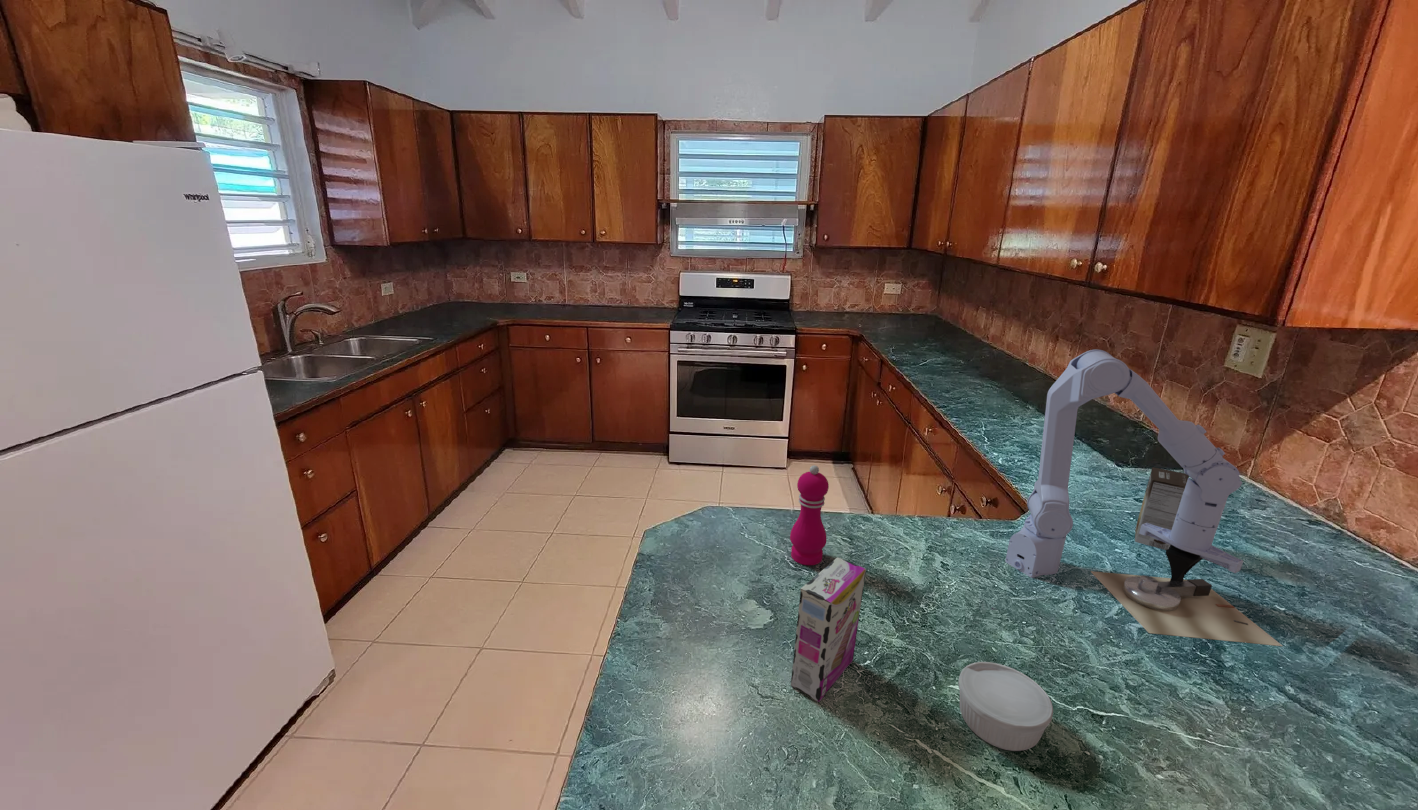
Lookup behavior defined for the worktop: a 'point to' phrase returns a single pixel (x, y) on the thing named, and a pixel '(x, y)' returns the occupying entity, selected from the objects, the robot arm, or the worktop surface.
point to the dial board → (1190, 615)
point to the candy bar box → (827, 627)
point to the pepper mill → (809, 519)
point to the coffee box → (1160, 503)
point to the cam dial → (1163, 591)
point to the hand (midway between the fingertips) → (1175, 585)
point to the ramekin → (1003, 705)
